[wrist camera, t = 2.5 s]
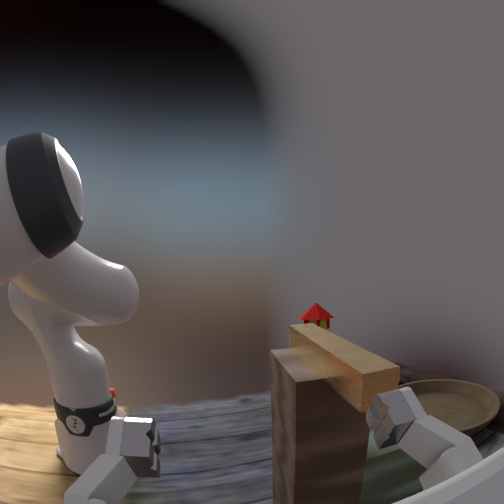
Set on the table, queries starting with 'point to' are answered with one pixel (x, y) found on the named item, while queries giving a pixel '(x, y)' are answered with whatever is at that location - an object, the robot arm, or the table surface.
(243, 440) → the table surface
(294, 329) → the brass bar
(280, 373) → the two-tone block tower
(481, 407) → the plant saucer
